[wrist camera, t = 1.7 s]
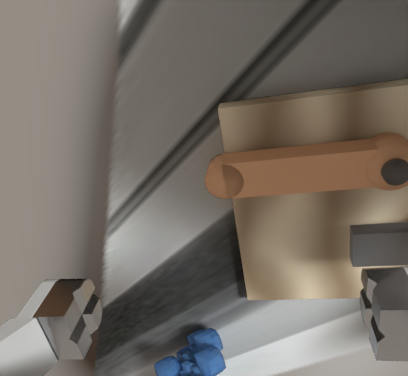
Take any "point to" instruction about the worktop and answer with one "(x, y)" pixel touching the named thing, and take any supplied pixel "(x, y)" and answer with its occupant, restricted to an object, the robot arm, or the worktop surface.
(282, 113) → the board
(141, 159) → the worktop surface
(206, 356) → the grapes
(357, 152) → the link
